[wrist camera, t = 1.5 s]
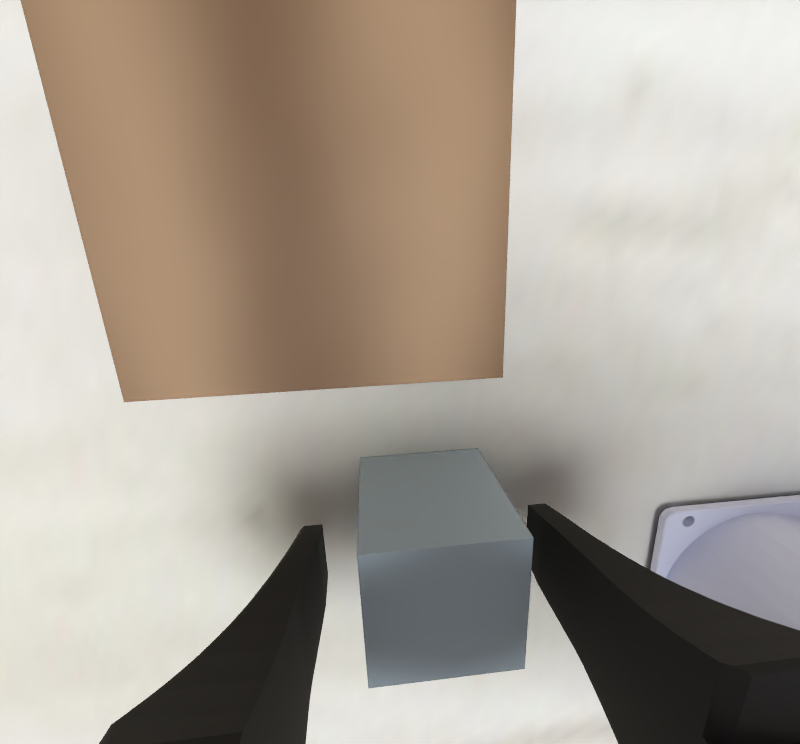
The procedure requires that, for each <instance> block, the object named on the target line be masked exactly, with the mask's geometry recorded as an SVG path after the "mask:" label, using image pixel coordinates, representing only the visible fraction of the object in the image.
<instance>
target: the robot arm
mask: <svg viewBox="0 0 800 744" xmlns="http://www.w3.org/2000/svg"><path fill="white" fill-rule="evenodd" d="M527 528H528V530H529V531H530V533H531V535H532V536H533V552H532V567H531V569H532V571H533V574H534V576H535V578H536V581H537V583H538V585H539V586H540V588H541V590H542V592H543V594H544V595H545V597H546V599H547V601H548V603H549V604H550V606H551V608H552V610H553V611H554V613H555V615H556V617H557V618H558V620H559V622H560V624H561V625H562V627H563V629H564V631H565V632H566V634H567V636H568V638H569V639H570V641H571V643H572V645H573V646H574V648H575V650H576V652H577V654H578V656H579V658H580V660H581V662H582V663H583V665H584V668H585V670H586V672H587V674H588V676H589V678H590V681H591V683H592V685H593V687H594V689H595V691H596V694H597V696H598V698H599V700H600V702H601V705H602V707H603V709H604V712H605V714H606V716H607V718H608V721H609V723H610V725H611V728H612V730H613V732H614V734H615V737H616V739H617V741H618V744H800V495H792V496H782V497H771V498H761V499H750V500H740V501H729V502H718V503H708V504H697V505H687V506H676V507H670V508H667V509H665V510H664V511H663V512H662V513H661V514H660V517H659V522H658V528H657V534H656V539H655V545H654V551H653V557H652V562H651V568H650V570H649V569H647V568H645V567H643V566H641V565H640V564H638V563H636V562H634V561H633V560H631V559H629V558H627V557H626V556H624V555H622V554H621V553H619V552H617V551H616V550H614V549H612V548H611V547H609V546H608V545H606V544H605V543H603V542H601V541H600V540H598V539H597V538H595V537H594V536H592V535H591V534H589V533H588V532H586V531H585V530H583V529H582V528H580V527H579V526H577V525H576V524H574V523H573V522H572V521H570V520H569V519H567V518H566V517H564V516H563V515H561V514H560V513H559V512H557V511H556V510H554V509H553V508H551V507H549V506H548V505H546V504H535V505H528V516H527ZM327 580H328V571H327V562H326V553H325V544H324V536H323V527H322V525H312V526H304V527H303V528H302V529H301V530H300V532H299V534H298V535H297V537H296V539H295V540H294V542H293V543H292V545H291V547H290V548H289V550H288V551H287V553H286V554H285V556H284V557H283V559H282V560H281V561H280V563H279V564H278V566H277V567H276V569H275V570H274V571H273V573H272V574H271V576H270V577H269V578H268V580H267V581H266V582H265V583H264V585H263V586H262V587H261V589H260V590H259V591H258V592H257V594H256V595H255V596H254V598H253V599H252V600H251V601H250V602H249V604H248V605H247V606H246V607H245V608H244V609H243V611H242V612H241V613H240V614H239V615H238V616H237V617H236V618H235V619H234V621H233V622H232V623H231V624H230V625H229V626H228V627H227V628H226V629H225V630H224V631H223V632H222V633H221V634H220V635H219V636H218V637H217V638H216V639H215V640H214V641H213V642H212V643H211V644H210V645H209V646H208V647H207V648H206V649H205V650H204V651H203V652H202V653H201V654H200V655H199V656H197V657H196V658H195V659H194V660H193V661H192V662H191V663H190V664H188V665H187V666H186V667H185V668H184V669H183V670H182V671H180V672H179V673H178V674H177V675H176V676H174V677H173V678H172V679H171V680H170V681H168V682H167V683H166V684H165V685H163V686H162V687H161V688H160V689H158V690H157V691H156V692H155V693H153V694H152V695H151V696H149V697H148V698H147V699H145V700H144V701H143V702H141V703H140V704H139V705H137V706H136V707H135V708H133V709H132V710H131V711H129V712H128V713H127V714H125V715H124V716H123V717H121V718H120V719H119V720H117V721H116V722H114V723H113V724H112V725H111V726H110V728H109V729H108V731H107V732H106V734H105V735H104V737H103V738H102V740H101V742H100V743H99V744H305V742H306V732H307V721H308V711H309V701H310V693H311V686H312V680H313V674H314V669H315V663H316V657H317V652H318V646H319V641H320V635H321V630H322V624H323V618H324V612H325V606H326V594H327Z"/></svg>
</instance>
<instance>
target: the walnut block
mask: <svg viewBox="0 0 800 744" xmlns="http://www.w3.org/2000/svg"><path fill="white" fill-rule="evenodd" d="M21 3H22V7H23V11H24V15H25V19H26V23H27V27H28V31H29V34H30V38H31V42H32V46H33V50H34V54H35V58H36V62H37V66H38V69H39V73H40V77H41V81H42V85H43V89H44V93H45V97H46V101H47V104H48V108H49V112H50V116H51V120H52V124H53V128H54V132H55V135H56V139H57V143H58V147H59V151H60V155H61V159H62V163H63V167H64V170H65V174H66V178H67V182H68V186H69V190H70V194H71V198H72V202H73V205H74V209H75V213H76V217H77V221H78V225H79V229H80V233H81V236H82V240H83V244H84V248H85V252H86V256H87V260H88V264H89V268H90V271H91V275H92V279H93V283H94V287H95V291H96V295H97V299H98V303H99V306H100V310H101V314H102V318H103V322H104V326H105V330H106V334H107V337H108V341H109V345H110V349H111V353H112V357H113V361H114V365H115V369H116V372H117V376H118V380H119V384H120V388H121V392H122V396H123V400H124V402H132V401H148V400H163V399H178V398H194V397H209V396H225V395H240V394H255V393H271V392H286V391H301V390H317V389H332V388H347V387H363V386H378V385H393V384H409V383H424V382H439V381H455V380H470V379H485V378H501V377H503V354H504V327H505V299H506V271H507V243H508V215H509V187H510V159H511V132H512V104H513V76H514V48H515V20H516V0H21Z"/></svg>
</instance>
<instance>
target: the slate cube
mask: <svg viewBox="0 0 800 744" xmlns="http://www.w3.org/2000/svg"><path fill="white" fill-rule="evenodd" d="M532 552H533V536H532V535H531V533H530V531H529V530H528V528H527V527H526V525H525V523H524V522H523V520H522V519H521V517H520V515H519V514H518V512H517V511H516V509H515V507H514V506H513V504H512V503H511V501H510V499H509V498H508V496H507V495H506V493H505V491H504V490H503V488H502V487H501V485H500V483H499V482H498V480H497V479H496V477H495V475H494V474H493V472H492V471H491V469H490V467H489V466H488V464H487V463H486V461H485V459H484V458H483V456H482V455H481V453H480V451H479V450H478V448H475V449H462V450H449V451H436V452H424V453H411V454H398V455H386V456H373V457H360V480H359V511H358V543H357V560H358V571H359V583H360V595H361V606H362V618H363V629H364V641H365V652H366V664H367V676H368V687H369V688H375V687H383V686H391V685H399V684H407V683H415V682H423V681H431V680H438V679H446V678H454V677H462V676H470V675H478V674H486V673H494V672H502V671H510V670H518V669H525V655H526V640H527V625H528V611H529V596H530V582H531V567H532Z"/></svg>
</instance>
